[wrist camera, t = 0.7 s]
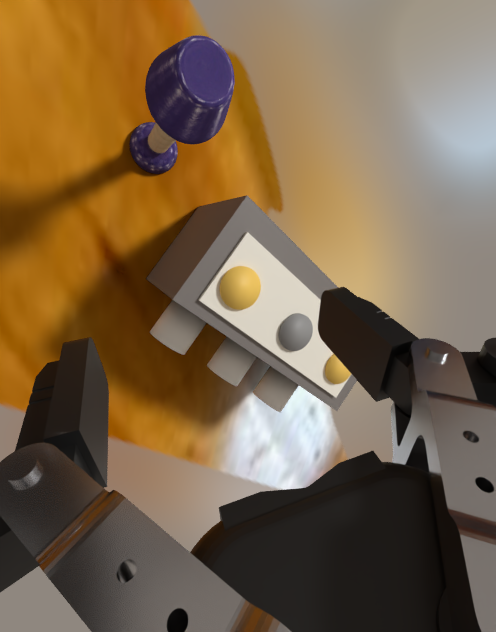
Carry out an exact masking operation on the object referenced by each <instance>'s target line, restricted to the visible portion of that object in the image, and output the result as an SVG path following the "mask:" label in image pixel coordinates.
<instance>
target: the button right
mask: <svg viewBox="0 0 496 632" xmlns="http://www.w3.org/2000/svg"><path fill="white" fill-rule="evenodd" d="M297 387H298V384H296V383H295V382H293V381H292V380H290V379H289V378H288V377H286V376H285V375H283V374H282V373H280V372H279V371H277V370H276V369H274V368H273V367H271V366H270V367H269V369H268V370H267V372H266V373H265V375H264V376H263V378H262V379H261V381H260V382H259V384H258V385H257V387H256V388H255V390H254V391H253V393H254V394H255V395H256V396H257V397H258V398H259V399H260V400H262V401H263V402H264V403H266V404H267V405H269V406H270V407H272V408H273V409H275V410H276V411H278V412H281V411H282V409H283V408H284V406H285V405H286V403H287V402H288V400H289V399H290V397H291V396H292V394H293V393H294V391H295V390H296V388H297Z"/></svg>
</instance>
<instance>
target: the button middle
mask: <svg viewBox="0 0 496 632" xmlns="http://www.w3.org/2000/svg"><path fill="white" fill-rule="evenodd" d="M256 358H257V356H255V355H254V354H252V353H251V352H249V351H248V350H246V349H245V348H243V347H242V346H240V345H239V344H237V343H236V342H234V341H233V340H231V339H230V338H229V337H226V338H225V339H224V341H223V342H222V344H221V345H220V347H219V348H218V350H217V351H216V352H215V354H214V355H213V357H212V358H211V360H210V361H209V363H208V364H207V366H208V368H209V369H211V370H212V371H213V372H214V373H215V374H217V375H218V376H219V377H221V378H222V379H224V380H225V381H227V382H229V383H230V384H232V385H234V386H238V384H239V383H240V381H241V380H242V378H243V377H244V375H245V374H246V372H247V371H248V370H249V368H250V367H251V365H252V364H253V362H254V361H255V359H256Z"/></svg>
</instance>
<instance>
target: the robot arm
mask: <svg viewBox="0 0 496 632" xmlns="http://www.w3.org/2000/svg"><path fill="white" fill-rule="evenodd" d="M318 332H319V335H320V338H321V339H322V341H323V342H324V343H325V344H326V345H327V347H328V348H329V349H330V350H331V351H332V352H333V353H334V355H335V356H336V357H337V358H338V359H339V360H340V361H341V362H342V364H343V365H344V366H345V367H346V368H347V369H348V370H349V372H350V373H351V374H352V375H353V376H354V377H355V378H356V379H357V381H358V382H359V383H360V384H361V385H362V386H363V387H364V388H365V390H366V391H367V392H368V393H369V394H370V395H371V397H372V398H373V399H374V400H375V401H380V400H383V399H386V398H389V397H390V398H391V399H392V400H393V403H392V406H391V419H392V420H391V421H392V440H393V462H392V463H391V462H381V461H380V459H379V458H378V457H377V455H376V454H375V453H374V451H371V452H368V453H365V454H363V455H360V456H357V457H355V458H352V459H349V460H346V461H344V462H341V463H339V464H337V465H336V466H335V467H333V468H332V469H331V470H330V471H328V472H327V473H326V474H324V475H323V476H322V477H320V478H319V479H318V480H316V481H315V482H314V483H313V484H311V485H310V486H308V487H306V488H300V489H288V490H277V491H265V492H259V493H256V494H254V495H251V496H248V497H245V498H243V499H240V500H237V501H235V502H232V503H229V504H226V505H224V506H221V507H219V512H220V519H221V521H220V522H219V523H217V524H216V525H215V526H213V527H212V528H211V529H210V530H209V531H208V532H207V533H206V534H205V535H204V536H203V537H202V538H201V539H200V540H199V542H198V543H197V544H196V545H195V546H194V548H193V549H192V551H191V552H189V551H188V550H186V549H185V548H184V547H183V546H182V545H181V544H179V543H178V542H177V541H176V540H174V539H173V538H172V537H171V536H170V535H169V534H168V533H166V532H165V531H164V530H163V529H162V528H161V527H159V526H158V525H157V524H156V523H155V522H154V521H152V520H151V519H150V518H149V517H148V516H147V515H145V514H144V513H143V512H142V511H141V510H139V509H138V508H137V507H136V506H135V505H134V504H132V503H131V502H130V501H129V500H128V499H126V498H125V497H124V496H123V495H122V494H120V493H119V492H117V491H115V490H113V491H111V492H108V491H106V490H105V489H104V487H107V458H108V457H107V456H108V403H109V390H108V383H107V378H106V375H105V372H104V369H103V366H102V363H101V361H100V358H99V355H98V353H97V350H96V347H95V344H94V342H93V340H92V338H91V337H90V338H85V339H80V340H75V341H70V342H65V343H63V346H62V351H61V356H60V360H59V361H55V362H50V363H47V364H46V365H45V367H44V368H43V369H42V370H41V371H40V373H39V374H38V375H37V376H36V379H35V383H34V386H33V390H32V392H33V393H31V397H30V400H29V405H28V407H27V411H26V414H25V418H24V421H23V425H22V428H21V432H20V435H19V439H18V443H17V446H16V449H15V451H14V452H13V453H12V454H10V455H9V456H7V457H6V458H5V459H3V460H2V461H1V462H0V592H1V591H3V590H4V589H6V588H7V587H9V586H10V585H12V584H13V583H15V582H16V581H17V580H19V579H20V578H22V577H23V576H25V575H26V574H27V573H29V572H30V571H32V570H33V569H35V568H36V567H38V566H40V568H41V569H42V570H43V572H44V573H45V574H46V575H47V577H48V578H49V579H50V580H51V582H52V583H53V584H54V585H55V587H56V588H57V589H58V590H59V592H60V593H61V594H62V595H63V597H64V598H65V599H66V600H67V602H68V603H69V604H70V605H71V607H72V608H73V609H74V610H75V612H77V614H78V615H79V617H80V618H81V619H82V620H83V621H84V623H85V624H86V625H87V626H88V628H89V629H90V630H91V631H92V632H496V338H491V339H488V340H486V341H485V343H484V345H483V347H482V349H481V351H480V352H459V351H458V350H457V349H456V348H455V347H453V346H452V345H450V344H448V343H446V342H443V341H440V340H436V339H430V338H423V339H418V338H417V337H416V336H415V335H413V334H412V333H411V332H409V331H408V330H407V329H405V328H404V327H403V326H402V325H400V324H399V323H398V322H396V321H395V320H394V319H392V318H390V316H389V315H387V314H386V313H385V312H382V310H381V309H379V308H378V307H377V306H375V305H374V304H373V303H371V302H369V301H367V300H364V299H362V298H360V297H357V296H356V295H354V294H353V293H352V292H350V291H349V290H348V289H347V288H345V287H340V288H335V289H330V290H325V291H324V292H323V293H322V295H321V302H320V310H319V319H318Z"/></svg>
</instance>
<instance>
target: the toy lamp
mask: <svg viewBox="0 0 496 632" xmlns="http://www.w3.org/2000/svg"><path fill="white" fill-rule="evenodd" d="M233 89H234V71H233V67H232V64H231V61H230V59H229V57H228V55H227V53H226V52H225V50H224V49H223V48H222V47H221V46H220V45H219V44H218V43H217V42H216V41H214V40H213V39H211V38H209V37H205V36H191V37H187V38H185V39H183V40H182V41H180V42H178V43H177V44H175V45H173V46H172V47H170V48H168V49H167V50H165V51H164V52H162V53H161V54H160V55H159V56H158V57H157V58H156V59H155V60H154V61H153V63H152V64H151V66H150V68H149V71H148V74H147V78H146V86H145V92H146V99H147V104H148V107H149V110H150V112H151V115H152V117H153V118H154V120H155V122H156V123H153V122H147V123H143V124H141V125H139V126H138V127H136V129H135V130H134V131H133V133H132V135H131V138H130V151H131V154H132V157H133V159H134V160H135V162H136V163H137V164H138V165H139V166H140V167H141V168H142V169H144V170H145V171H147V172H150V173H154V174H160V173H164V172H166V171H168V170H169V169H171V168H172V166H173V165H174V163H175V162H176V159H177V144H176V140H177V141H179V142H182V143H185V144H199V143H203V142H205V141H208V140H209V139H211V138H212V137H213V136H215V135H216V134H217V133H218V131H219V130H220V128H221V127H222V125H223V123H224V120H225V118H226V115H227V112H228V108H229V105H230V101H231V98H232V94H233Z"/></svg>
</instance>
